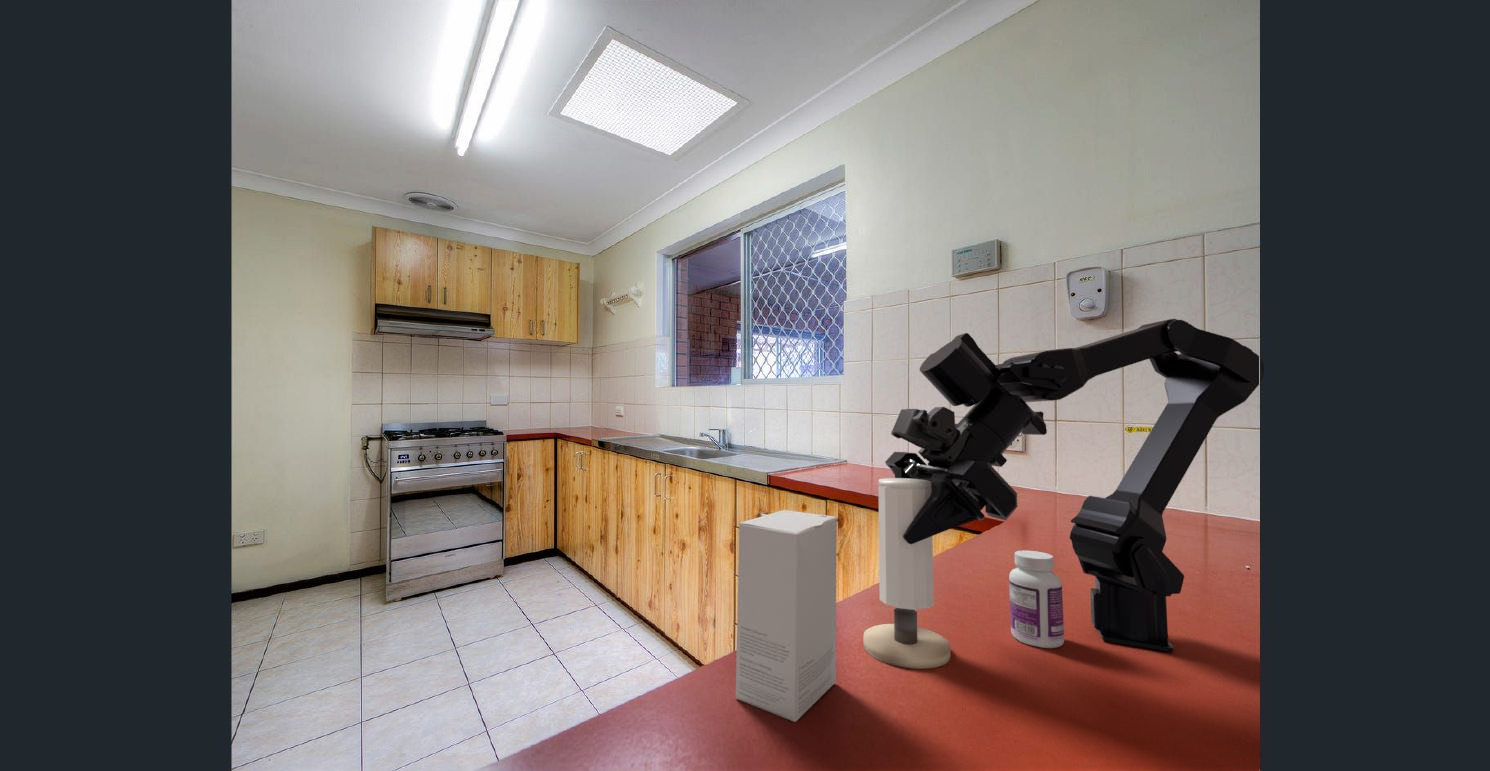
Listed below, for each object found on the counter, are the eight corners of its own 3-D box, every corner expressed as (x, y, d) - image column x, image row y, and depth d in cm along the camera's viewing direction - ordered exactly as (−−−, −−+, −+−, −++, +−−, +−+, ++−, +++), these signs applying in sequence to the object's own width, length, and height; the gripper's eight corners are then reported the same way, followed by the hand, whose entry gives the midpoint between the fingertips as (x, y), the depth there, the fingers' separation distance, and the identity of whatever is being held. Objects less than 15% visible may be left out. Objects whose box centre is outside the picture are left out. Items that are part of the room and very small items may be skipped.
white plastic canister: (942, 601, 56) (940, 481, 57) (917, 613, 52) (914, 484, 53) (896, 588, 60) (895, 477, 61) (869, 599, 56) (868, 480, 57)
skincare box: (781, 665, 52) (782, 508, 53) (841, 685, 48) (841, 515, 49) (731, 700, 45) (734, 520, 46) (797, 727, 41) (798, 529, 42)
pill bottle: (1049, 631, 61) (1047, 549, 62) (1073, 650, 56) (1070, 560, 57) (1002, 629, 62) (1000, 547, 63) (1022, 648, 57) (1019, 558, 57)
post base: (953, 642, 58) (952, 605, 58) (946, 676, 50) (945, 633, 50) (873, 627, 62) (873, 593, 62) (854, 656, 54) (854, 617, 54)
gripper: (899, 390, 68) (818, 474, 65) (986, 377, 49) (878, 494, 47) (955, 450, 68) (877, 536, 66) (1062, 459, 50) (960, 579, 47)
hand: (893, 534), depth 56 cm, fingers closed on white plastic canister, 6 cm apart
